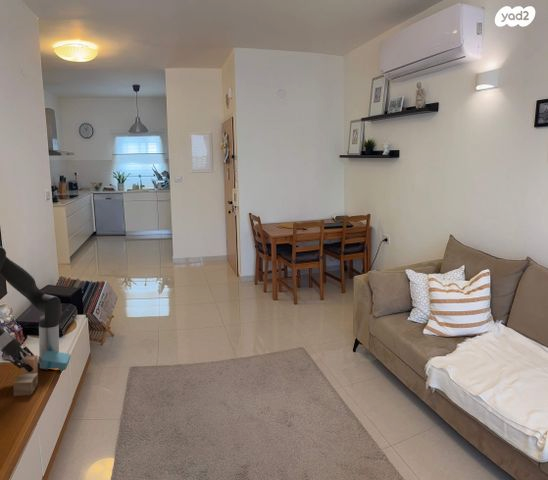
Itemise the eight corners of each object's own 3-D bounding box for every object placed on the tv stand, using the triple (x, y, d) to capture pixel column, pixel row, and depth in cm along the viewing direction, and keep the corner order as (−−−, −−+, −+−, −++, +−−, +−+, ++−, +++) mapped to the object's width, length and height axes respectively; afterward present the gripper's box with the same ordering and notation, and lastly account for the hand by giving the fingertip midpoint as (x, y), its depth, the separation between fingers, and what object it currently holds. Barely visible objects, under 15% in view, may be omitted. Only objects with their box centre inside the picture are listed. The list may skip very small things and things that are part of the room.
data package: (38, 368, 215) (64, 372, 219) (40, 359, 215) (67, 363, 218) (44, 358, 226) (69, 362, 230) (46, 350, 226) (71, 354, 230)
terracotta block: (23, 379, 206) (23, 359, 205) (27, 375, 211) (27, 355, 209) (33, 379, 207) (33, 359, 206) (37, 375, 211) (37, 355, 210)
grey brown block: (21, 386, 200) (21, 373, 199) (38, 385, 201) (37, 373, 201) (13, 396, 191) (13, 382, 191) (31, 395, 193) (31, 382, 192)
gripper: (5, 344, 198) (34, 369, 201) (19, 333, 212) (46, 356, 216) (-7, 355, 198) (22, 380, 201) (8, 343, 212) (34, 366, 215)
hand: (34, 367), depth 208 cm, fingers open, 5 cm apart
